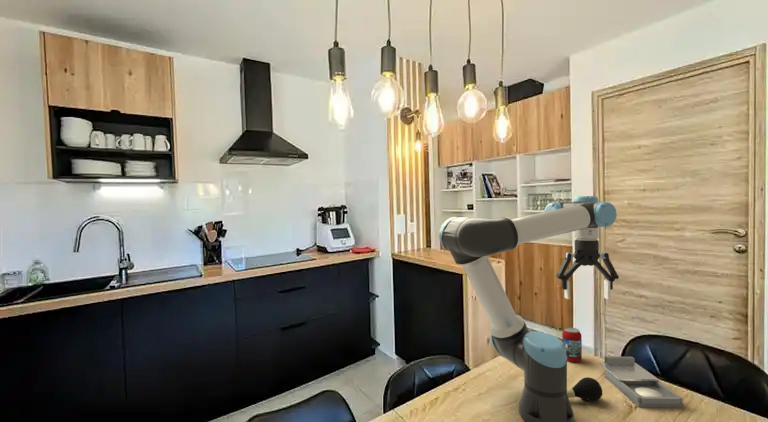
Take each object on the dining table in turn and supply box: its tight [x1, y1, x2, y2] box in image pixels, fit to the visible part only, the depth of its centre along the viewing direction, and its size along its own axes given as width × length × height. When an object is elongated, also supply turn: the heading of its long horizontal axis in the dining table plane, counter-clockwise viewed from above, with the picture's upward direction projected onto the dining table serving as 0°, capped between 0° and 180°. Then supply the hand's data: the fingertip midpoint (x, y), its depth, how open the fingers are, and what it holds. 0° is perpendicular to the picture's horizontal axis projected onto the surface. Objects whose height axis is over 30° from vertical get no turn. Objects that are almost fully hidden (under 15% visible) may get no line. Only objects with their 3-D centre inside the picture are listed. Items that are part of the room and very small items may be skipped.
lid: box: [599, 355, 660, 382], centre depth 123 cm, size 13×12×3 cm
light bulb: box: [567, 376, 603, 402], centre depth 113 cm, size 7×7×12 cm
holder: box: [604, 369, 684, 409], centre depth 116 cm, size 13×18×3 cm
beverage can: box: [561, 326, 583, 363], centre depth 140 cm, size 7×7×12 cm
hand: (587, 298), depth 126 cm, fingers open, 13 cm apart
